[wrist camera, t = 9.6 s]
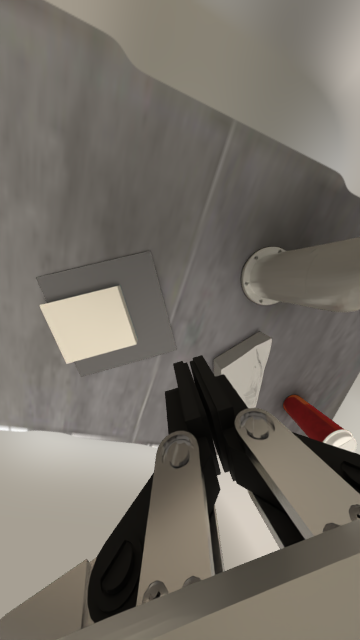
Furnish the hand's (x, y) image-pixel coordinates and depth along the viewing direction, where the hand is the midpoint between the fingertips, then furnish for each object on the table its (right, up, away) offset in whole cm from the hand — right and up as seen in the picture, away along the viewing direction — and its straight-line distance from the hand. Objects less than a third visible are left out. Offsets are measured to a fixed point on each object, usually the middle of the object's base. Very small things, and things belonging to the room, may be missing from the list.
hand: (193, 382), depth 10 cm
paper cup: (+31, -20, +40) cm, 55 cm away
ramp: (+14, -12, +36) cm, 40 cm away
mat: (-15, +4, +27) cm, 31 cm away
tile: (-11, +5, +25) cm, 28 cm away
